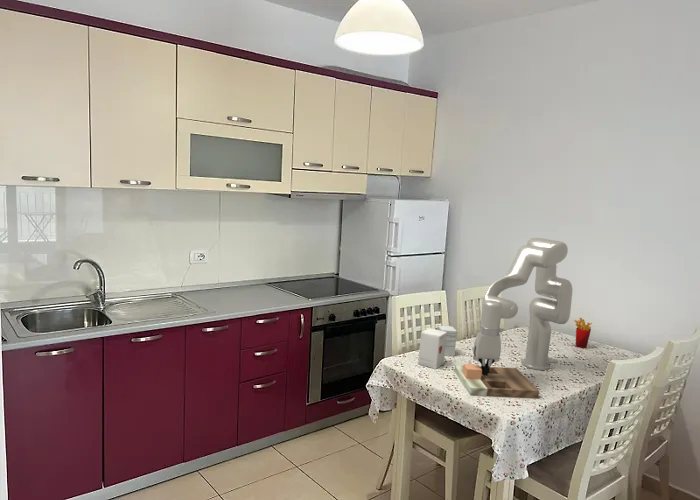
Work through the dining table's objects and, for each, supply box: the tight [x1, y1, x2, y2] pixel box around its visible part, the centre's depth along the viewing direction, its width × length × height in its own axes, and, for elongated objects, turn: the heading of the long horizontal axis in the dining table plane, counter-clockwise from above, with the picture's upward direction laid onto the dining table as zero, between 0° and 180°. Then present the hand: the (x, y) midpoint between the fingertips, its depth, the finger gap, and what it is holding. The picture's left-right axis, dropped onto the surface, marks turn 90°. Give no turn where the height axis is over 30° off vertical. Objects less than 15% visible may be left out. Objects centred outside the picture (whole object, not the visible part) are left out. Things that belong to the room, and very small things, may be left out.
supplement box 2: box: [437, 325, 458, 357], centre depth 245 cm, size 7×7×13 cm
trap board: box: [454, 364, 540, 399], centre depth 212 cm, size 27×24×3 cm
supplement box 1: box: [417, 327, 447, 370], centre depth 229 cm, size 9×9×15 cm
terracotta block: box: [462, 363, 482, 380], centre depth 211 cm, size 6×6×4 cm
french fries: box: [574, 317, 593, 349], centre depth 272 cm, size 9×8×15 cm
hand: (484, 374), depth 211 cm, fingers closed
